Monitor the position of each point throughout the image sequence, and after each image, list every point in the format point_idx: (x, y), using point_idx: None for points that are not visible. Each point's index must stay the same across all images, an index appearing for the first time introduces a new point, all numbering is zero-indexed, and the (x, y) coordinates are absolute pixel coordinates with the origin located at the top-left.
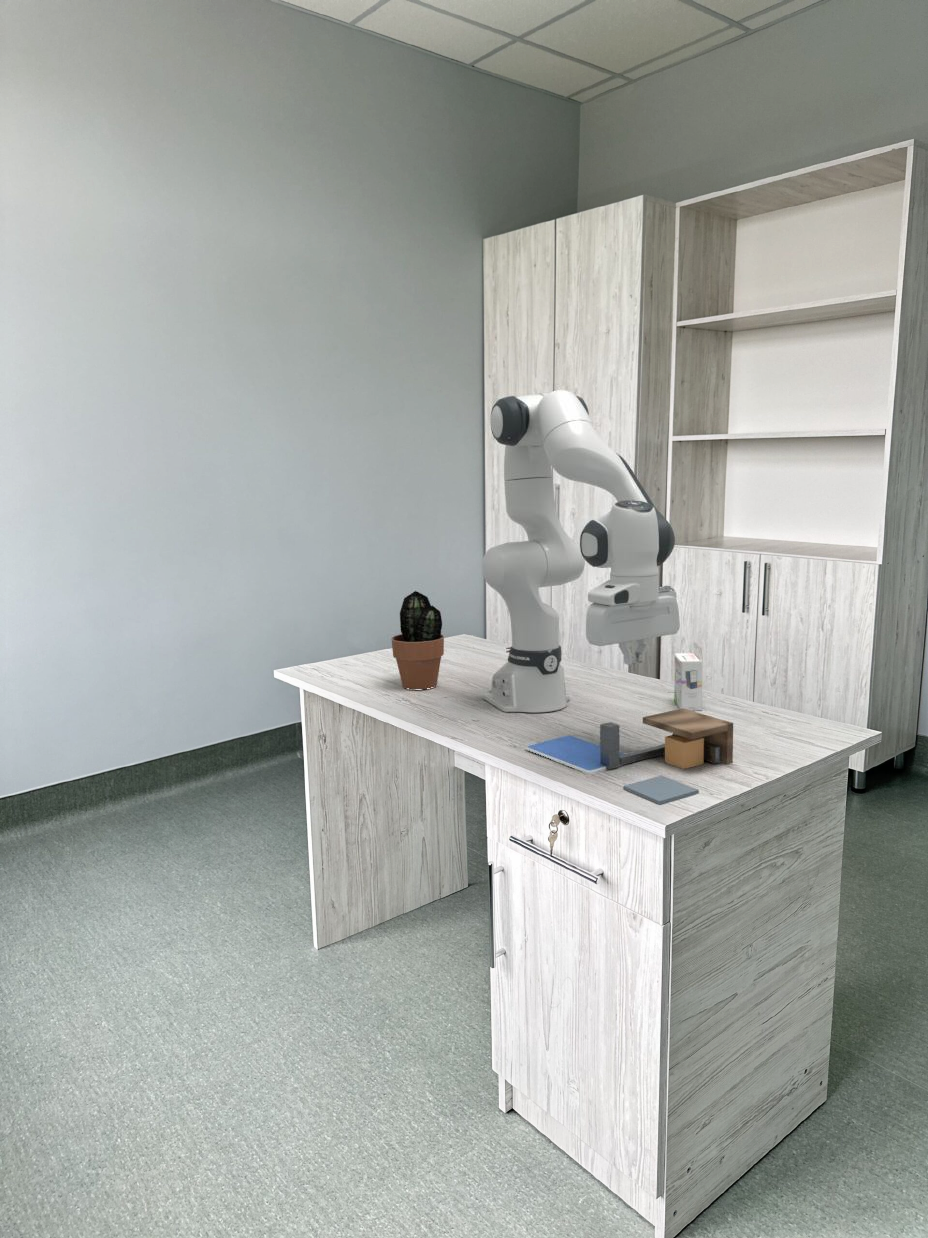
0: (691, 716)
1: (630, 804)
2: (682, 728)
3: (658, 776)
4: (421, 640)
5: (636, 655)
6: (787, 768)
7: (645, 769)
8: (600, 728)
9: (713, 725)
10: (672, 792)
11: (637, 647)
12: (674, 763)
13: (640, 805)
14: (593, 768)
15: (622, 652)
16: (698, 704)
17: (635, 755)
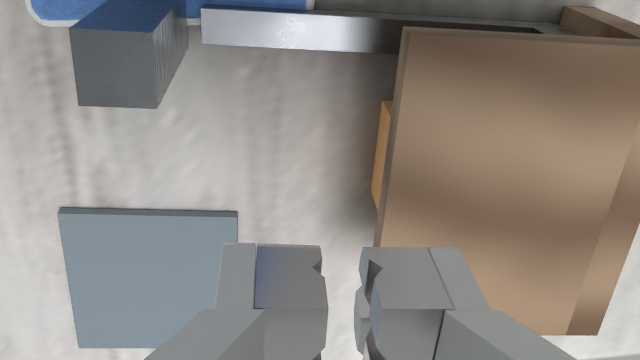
0: (584, 181)
1: (7, 298)
2: None
3: (220, 218)
4: None
5: (370, 355)
6: (582, 346)
7: (261, 115)
8: (77, 24)
9: (516, 316)
10: (157, 325)
11: (504, 356)
12: (377, 149)
13: (30, 316)
14: (67, 7)
15: (181, 334)
16: None
17: (286, 46)
